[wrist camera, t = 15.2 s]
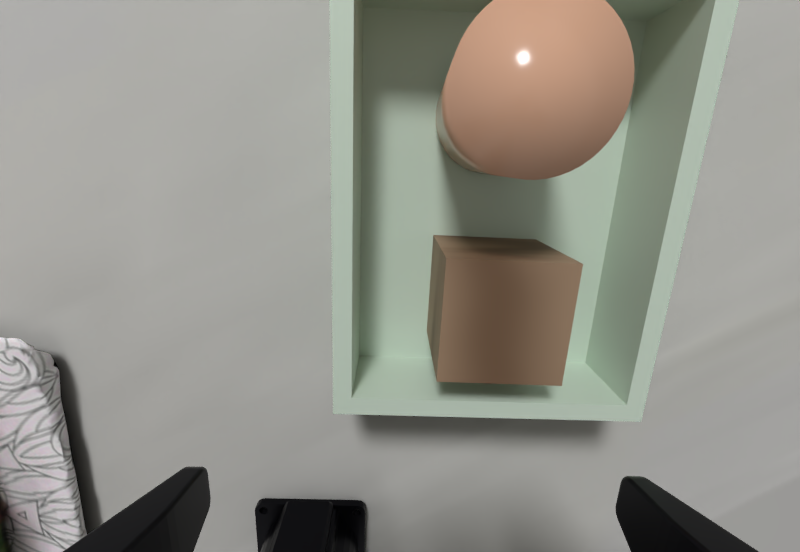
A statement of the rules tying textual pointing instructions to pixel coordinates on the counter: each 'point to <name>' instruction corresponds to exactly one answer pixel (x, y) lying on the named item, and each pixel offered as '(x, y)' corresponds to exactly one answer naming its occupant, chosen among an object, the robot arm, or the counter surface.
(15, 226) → the counter surface
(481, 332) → the walnut cube
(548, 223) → the box
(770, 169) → the counter surface
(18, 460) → the cookie jar
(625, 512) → the robot arm
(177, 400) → the counter surface
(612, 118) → the egg
